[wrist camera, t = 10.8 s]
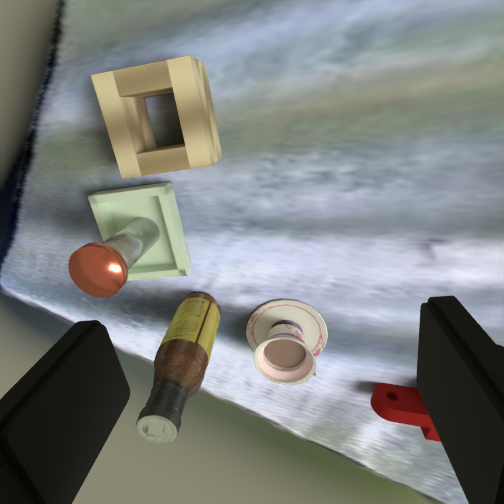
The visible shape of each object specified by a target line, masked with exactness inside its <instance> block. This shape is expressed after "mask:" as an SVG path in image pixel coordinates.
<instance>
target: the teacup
mask: <svg viewBox="0 0 504 504" xmlns="http://www.w3.org/2000/svg"><path fill="white" fill-rule="evenodd" d="M280 320H291V321H294V322H296V323H297V324H298V325H299V326H300V327H301V329H302V332H303V334H302V333H301V331H300V330H299V329H298V328H296V327H295V326H293V325H289V324H280V325H276V326H274V327H273V328H272V326H273V325H274V324H275V323H276V322H278V321H280ZM246 336H247V340H248V343H249V345H250V347H251V348H252V349H253V351H254V364H255V366H256V368H257V369H258V371H259V372H260V373H261V374H262V375H263V376H264V377H266V378H267V379H269V380H271V381H273V382H276V383H279V384H284V385H295V384H300V383H303V382H305V381H307V380H308V379H310V378H311V377H312V375H315V376H316V374H315V369H316V361H315V357H317V356H318V355H319V354H320V353H321V352H322V350H323V348H324V347H325V345H326V341H327V337H328V333H327V328H326V323H325V321H324V320H323V318H322V316H321V315H320V313H318V312H317V311H316V310H315V309H314V308H312V307H311V306H310V305H307V304H305V303H302V302H300V301H297V300H289V299H281V300H275V301H270V302H268V303H266V304H264V305H262V306H260V307H259V308H258V309H257V310H256V311H255V312H254V313H252V315H251V317H250V319H249V321H248V323H247V330H246Z"/></svg>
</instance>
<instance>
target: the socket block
mask: <svg viewBox="0 0 504 504" xmlns="http://www.w3.org/2000/svg"><path fill="white" fill-rule="evenodd" d="M91 78H92V81H93V84H94V88H95V91H96V94H97V97H98V101H99V104H100V107H101V111H102V114H103V117H104V120H105V124H106V127H107V130H108V134H109V137H110V140H111V143H112V147H113V150H114V153H115V157H116V160H117V163H118V166H119V170H120V173H121V176H122V178H130V177H137V176H144V175H151V174H158V173H165V172H172V171H179V170H186V169H193V168H200V167H207V166H212V165H213V164H215V163H216V162H217V161H218V160H220V159H221V158H222V153H221V148H220V142H219V137H218V131H217V126H216V120H215V115H214V109H213V104H212V98H211V93H210V87H209V82H208V76H207V71H206V65H205V63H204V62H202V61H200V60H198V59H196V58H194V57H192V56H185V57H179V58H174V59H169V60H164V61H159V62H154V63H149V64H144V65H139V66H134V67H129V68H124V69H119V70H114V71H109V72H104V73H99V74H94V75H91ZM169 93H174V96H175V101H176V105H177V110H178V114H179V119H180V123H181V128H182V133H183V137H184V142H185V143H183V144H177V145H170V146H164V147H156V143H155V139H154V135H153V131H152V127H151V123H150V119H149V115H148V111H147V107H146V103H145V99H144V98H147V97H152V96H158V95H163V94H169Z"/></svg>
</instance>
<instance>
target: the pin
mask: <svg viewBox="0 0 504 504" xmlns="http://www.w3.org/2000/svg"><path fill="white" fill-rule="evenodd" d="M159 237H160V230H159V227H158V226H157V224H156V223H155V222H154V221H153V220H151V219H149V218H145V217H141V218H137V219H136V220H134V221H133V222H131V223H130V224H128V225H127V226H126V227H124V228H123V229H121V230H120V231H118V232H117V233H116V234H114V235H113V236H111V237H110V238H108V239H107V240H106V241H104V242H103V243H98V242H93V243H88V244H86V245H84V246H82V247H81V248H79V249H78V250H76V251H75V252H74V253H73V254H72V255H71V257H70V259H69V264H68V267H69V273H70V276H71V278H72V280H73V281H74V283H75V284H76V285H77V286H78V287H79V288H80V289H81V290H83V291H84V292H86V293H87V294H89V295H92V296H95V297H109V296H112V295H114V294H115V293H117V292H118V291H119V290H120V289H121V287H122V286H123V285H124V284H125V283H126V281H127V278H128V270H129V269H130V268H131V267H132V266H133V265H134V264H135V263H136V262H137V261H138V260H139V259H140V258H141V257H142V256H143V255H144V254H145V253H146V252H147V251H148V250H149V249H150V248H151V247H152V246H153V245H154V244H155V243H156V242H157V241H158V240H159Z"/></svg>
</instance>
